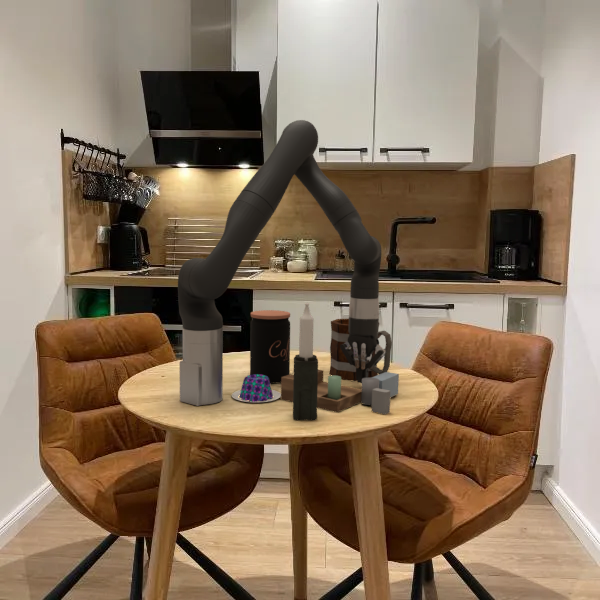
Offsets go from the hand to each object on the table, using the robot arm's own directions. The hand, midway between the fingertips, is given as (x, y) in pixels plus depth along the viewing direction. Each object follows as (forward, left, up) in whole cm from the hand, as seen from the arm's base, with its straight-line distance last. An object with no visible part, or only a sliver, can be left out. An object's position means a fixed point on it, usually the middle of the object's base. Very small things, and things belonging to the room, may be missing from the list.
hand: (362, 382), depth 152 cm
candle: (-27, -2, -2) cm, 27 cm away
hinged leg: (-6, -8, -1) cm, 10 cm away
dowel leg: (-17, -3, -2) cm, 17 cm away
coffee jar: (-7, +24, -2) cm, 25 cm away
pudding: (-22, +16, -2) cm, 28 cm away
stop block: (-14, -13, -2) cm, 19 cm away
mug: (+11, +6, -2) cm, 13 cm away
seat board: (-14, +2, -2) cm, 15 cm away
